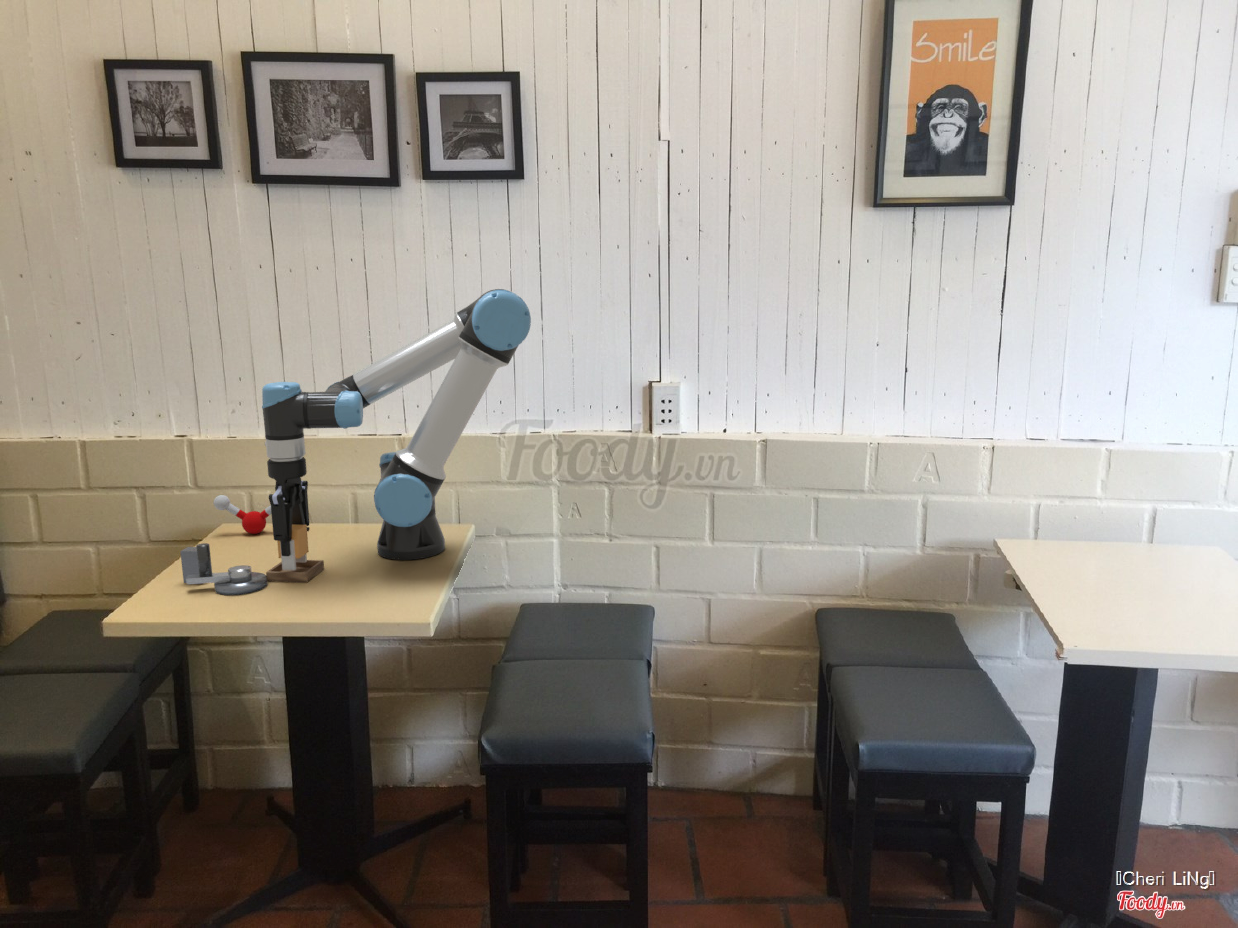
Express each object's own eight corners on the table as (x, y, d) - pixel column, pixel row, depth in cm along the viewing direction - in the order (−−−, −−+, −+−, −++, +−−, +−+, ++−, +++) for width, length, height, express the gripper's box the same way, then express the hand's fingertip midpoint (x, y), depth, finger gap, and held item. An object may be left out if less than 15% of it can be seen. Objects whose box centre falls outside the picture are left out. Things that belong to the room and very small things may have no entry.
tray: (324, 569, 202) (323, 560, 202) (307, 582, 194) (306, 573, 194) (285, 568, 203) (284, 559, 203) (266, 581, 195) (266, 572, 194)
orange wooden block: (308, 551, 200) (306, 524, 198) (299, 558, 195) (297, 530, 194) (288, 551, 200) (286, 524, 199) (278, 557, 196) (276, 530, 194)
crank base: (276, 579, 196) (275, 572, 196) (253, 596, 186) (252, 588, 186) (228, 578, 197) (227, 570, 197) (203, 594, 187) (202, 586, 187)
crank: (253, 575, 194) (250, 538, 192) (250, 582, 190) (246, 545, 188) (190, 580, 191) (186, 543, 190) (185, 587, 187) (181, 549, 185)
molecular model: (214, 539, 225) (210, 499, 223) (219, 532, 230) (215, 493, 228) (291, 534, 228) (287, 494, 226) (293, 528, 234) (290, 489, 232)
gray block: (209, 579, 196) (206, 547, 195) (202, 583, 194) (198, 551, 192) (191, 578, 197) (188, 546, 195) (183, 583, 194) (180, 551, 192)
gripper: (287, 449, 202) (295, 552, 207) (248, 466, 185) (258, 578, 190) (321, 449, 201) (328, 553, 206) (284, 467, 184) (293, 579, 189)
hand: (294, 565), depth 198 cm, fingers closed on orange wooden block, 4 cm apart
